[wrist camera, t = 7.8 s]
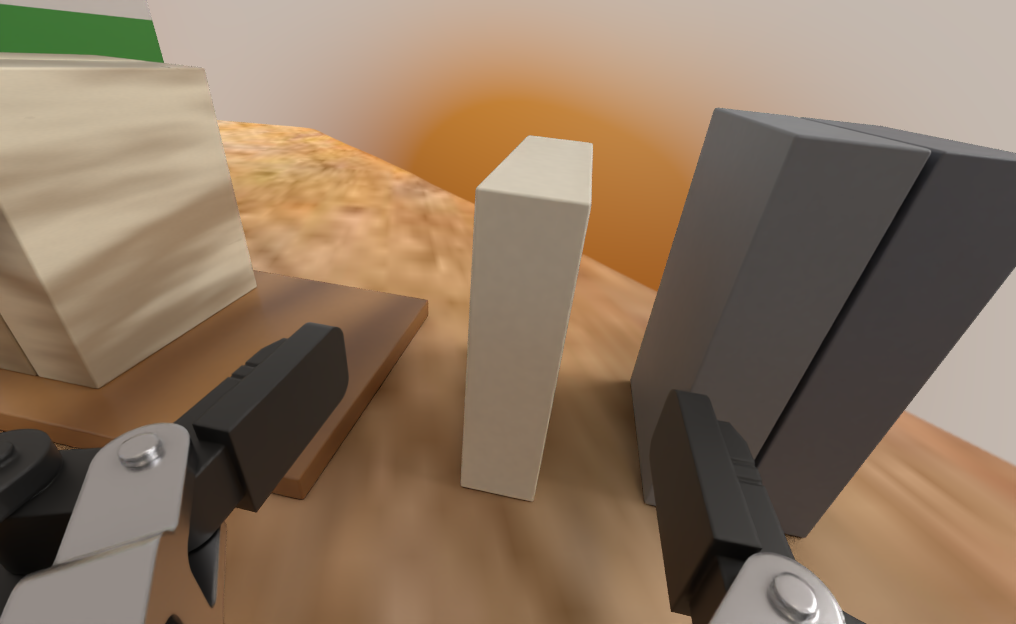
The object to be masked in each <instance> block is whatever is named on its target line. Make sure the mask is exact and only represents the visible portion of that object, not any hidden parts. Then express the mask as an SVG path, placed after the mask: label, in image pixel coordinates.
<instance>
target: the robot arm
mask: <svg viewBox="0 0 1016 624" xmlns="http://www.w3.org/2000/svg"><path fill="white" fill-rule="evenodd" d="M348 382H349V373H348V365H347V358H346V350H345V342H344V335H343V331H342V330H341V329H340V328H339V327H335V326H329V325H324V324H318V323H313V322H308V323H305V324H304V325H303V326H302V327H301V328H299V329H298V330H297V331H296V332H295V333H294V334H293V335H291V336H290V337H289V338H288V339H287V338H282V339H280V340H278V341H276V342H274V343H272V344H270V345H268V346H266V347H264V348H262V349H260V350H259V351H258V352H257V353H256V354H254V355H253V356H252V357H251V358H250V359H249V360H247V361H246V362H245V365H241V366H240V367H239V368H238V369H237V370H235V371H234V372H233V373H232V375H231V377H227V378H226V379H225V380H224V381H222V382H221V383H220V384H219V385H218V386H217V387H215V388H214V389H213V390H212V391H211V392H209V393H208V394H207V395H206V396H205V397H203V398H202V399H201V400H200V401H199V402H198V403H196V404H195V405H194V406H193V407H192V408H190V409H189V410H188V411H187V412H186V413H185V414H183V415H182V416H181V417H180V418H179V419H177V420H176V421H175V422H174V423H155V424H149V425H145V426H142V427H139V428H136V429H133V430H131V431H128V432H126V433H124V434H122V435H120V436H118V437H117V438H115V439H113V440H112V441H110V442H109V443H108V444H106V445H105V446H104V447H102V448H86V449H70V450H58V449H57V447H56V446H55V444H54V443H53V441H52V440H51V438H50V437H49V435H48V434H47V433H45V432H44V431H41V430H37V429H18V430H11V431H7V432H2V433H0V624H224V588H225V564H226V541H227V524H226V522H225V519H226V518H227V517H228V515H229V514H230V513H231V512H232V511H233V509H234V508H235V507H236V508H240V509H244V510H249V511H253V512H257V511H258V510H259V508H260V507H261V506H262V505H263V503H264V502H265V501H266V499H267V498H268V497H269V495H270V494H271V493H272V491H273V490H274V489H275V487H276V486H277V485H278V483H279V482H280V481H281V479H282V478H283V477H284V476H285V474H286V473H287V472H288V470H289V469H290V468H291V466H292V465H293V464H294V462H295V461H296V460H297V458H298V457H299V456H300V454H301V453H302V452H303V451H304V449H305V448H306V447H307V445H308V444H309V443H310V441H311V440H312V439H313V437H314V436H315V435H316V433H317V432H318V431H319V429H320V428H321V427H322V425H323V424H324V423H325V422H326V420H327V419H328V418H329V416H330V415H331V414H332V412H333V411H334V410H335V408H336V407H337V406H338V404H339V403H340V402H341V400H342V399H343V397H344V395H345V393H346V390H347V387H348ZM649 461H650V469H651V476H652V483H653V490H654V497H655V504H656V511H657V518H658V525H659V532H660V539H661V546H662V553H663V560H664V567H665V574H666V581H667V588H668V595H669V602H670V609H671V612H675V613H679V614H683V615H687V616H691V618H692V624H866V623H864V622H862V621H860V620H858V619H856V618H854V617H853V616H851V615H849V614H847V613H846V612H844V611H843V610H841V608H840V606H839V604H838V602H837V601H836V599H835V597H834V596H833V595H832V593H831V592H830V590H829V589H828V588H827V587H826V586H825V584H824V583H823V582H822V581H821V580H820V579H819V578H818V577H817V576H816V575H815V574H813V573H812V572H811V571H810V570H808V569H807V568H806V567H804V566H803V565H801V564H800V563H798V562H797V561H796V560H795V558H794V556H793V554H792V552H791V549H790V547H789V544H788V542H787V539H786V537H785V534H784V532H783V530H782V527H781V525H780V522H779V520H778V517H777V515H776V513H775V510H774V508H773V505H772V503H771V500H770V498H769V496H768V493H767V491H766V488H765V486H764V485H762V478H761V476H760V474H759V471H758V469H757V467H755V461H754V459H753V457H752V454H751V452H750V449H749V447H748V444H747V442H746V441H745V440H744V439H743V437H742V436H741V435H740V434H739V433H738V432H737V431H736V429H735V428H734V427H733V426H732V425H731V424H730V422H725V421H719V420H717V418H716V415H715V412H714V410H713V407H712V404H711V401H710V399H709V397H708V396H707V395H704V394H698V393H693V392H687V391H682V390H676V389H672V390H671V391H670V392H669V394H668V396H667V398H666V401H665V403H664V406H663V409H662V411H661V414H660V417H659V419H658V422H657V425H656V427H655V430H654V432H653V435H652V439H651V443H650V452H649Z"/></svg>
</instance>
